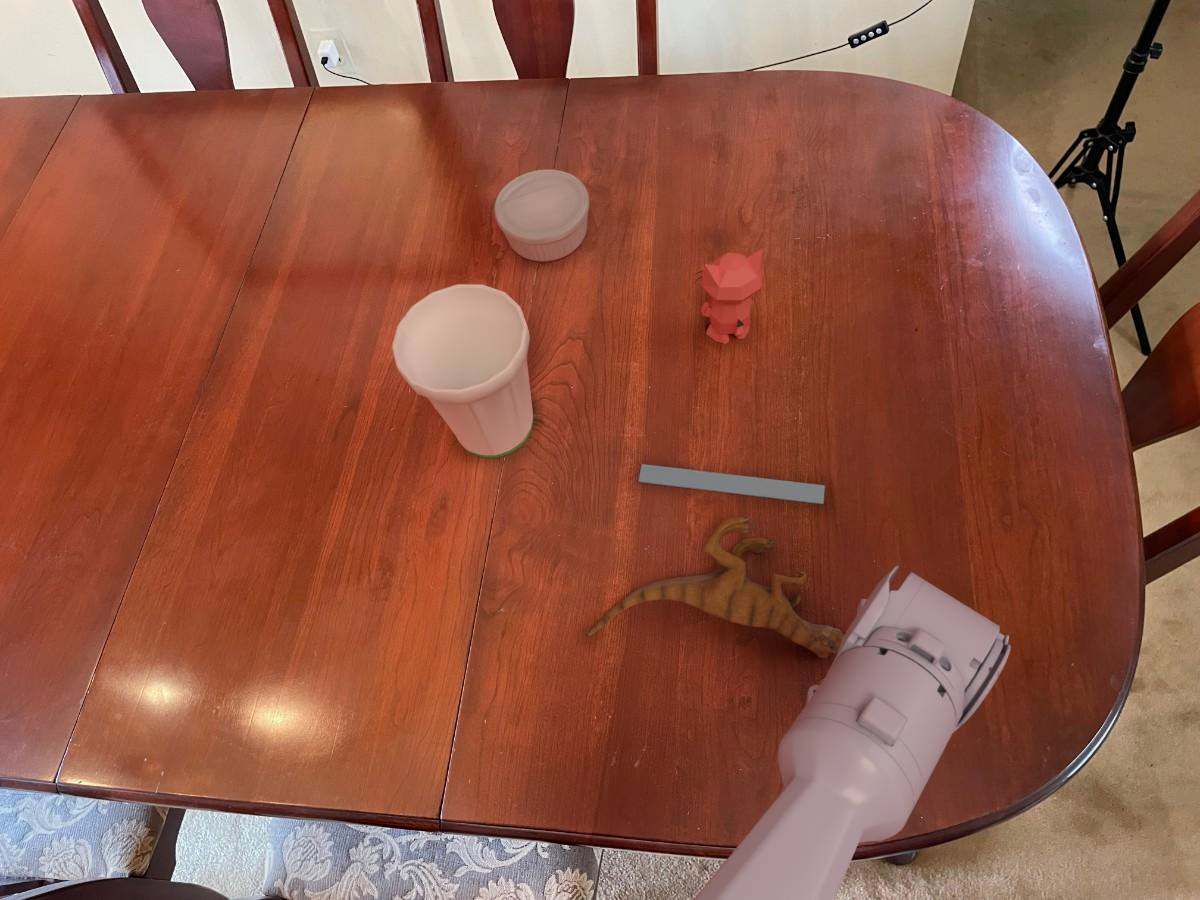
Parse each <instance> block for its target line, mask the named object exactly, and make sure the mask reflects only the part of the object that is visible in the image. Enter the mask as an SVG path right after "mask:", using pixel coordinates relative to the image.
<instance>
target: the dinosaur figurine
mask: <svg viewBox="0 0 1200 900" xmlns="http://www.w3.org/2000/svg"><path fill="white" fill-rule="evenodd" d="M750 519H751V517H750V516H737V517H731V518H726V519H723V520H722V521H721V522H720V523H718V524H717V525H716V527H715V528H714V529H713V531H712V533H711V534H710V536H709V537H708V539H707V540H706V541H705V542H704V544H703V548H702V549H703V552H704V553H705V554H706V555H708V557H711V558H712V559H713V560H715V562H716V563H717V564H718V565H719V566H721V568H723V569H724V570H723V569H716V570H713V571H711V572H709V573H706V574H695V575H687V576H677V577H672V578H666V579H661V580H657V581H654V582H651V583H648V584H647V585H645V586H642V587H639V588H638V589H636V590H634V591H632V592H631V593H630V594H629V595H626V597H625V598H622V600H620V601H619V602H617V603H616V604H615V605H614V606H613V607H612V608H611V609H610V610H608V611H607V612H606V614H605V615H603V616H602V618H601V619H600V620H598V621H597V623H596V624H595V625H594V626H593V627H592V628H591V629H590V631H589V632H587V634H586V636H587V637H590V636H592V635H594V634H595V633H596V632H597V631H598V630H600V629H602V628H603V627H604V626H606V625H607V624H608V623H609V622H610V621H611V620H613V618H614V617H616V616H618V615H619V614H620V613H621V612H624V611H625V610H626V609H628V608H630V607H633V606H634V605H638V604H641V603H644V602H650V601H655V600H671V601H676V602H680V603H684V604H687V605H688V606H692V607H694V608H697V609H698V610H700V611H703V612H704V613H706V614H708V615H709V616H712V617H716V618H717V619H721V620H724V621H727V622H730V623H733V624H739V625H741V626H746V627H751V628H768V629H772V630H774V631H776V632H778V633H779V634H781V635H782V636H784V637H785V638H787V639H789V640H790V641H792V642H793V643H795V644H797V645H799V646H801V647H803V648H806V649H808V650H809V651H810V652H812V653H813V654H815V655H816V656H817V657H818V658H823V659H826V658H828V657H829V656H830V655H831V654H836V655H837V653H838V650H839V648H840V645H841V642H842V640H843V637H844V636H845V634H843V633H842V631H841V629H839V628H835V627H833V626H831V625H828V624H823V623H820V624H816V623H811V622H810V621H807V620H805V619H803V618H801V617H800V616H799V615H798V614H797V613H796V612H795V610H794V609H793V608H795V606H797V605H798V604H800V602H801V594H800V592H798V593H796V592H795V593H794V595H793V599H792V601H789V598H788V597H787V596H786V595H784V594H783V592H782V591H783V590H782V585H793V586H797V587H799V586H801V585H803V584H804V583H805V582H806V580H805V579H806V578H807V577H808V574H807V573H806V572H804V571H802V570H800V571H797V573H798V576H795V577H790V576H787V575H782V574H778V573H773V574H772V575H771V579H770V583H771V586H766V585H761V584H760V583H757V582H754V581H752V580H751V579H750V578H749V577H747V576H746V575H747V563H746V561H745V560H744V559H743V558H741V557H742V555H743V554H744V553H746V552H753V553H757V554H763V553H767V551H768V550H770V551H771V550H774V549H775V546H772V545H771V544H773V543H774V540H772V539H766V538H763V537H753V538H751V537H749V538H748V537H746V538H742V539H741V540H740V541H738V542H737V543H734V545H733V547H732V548H731V551H730V552H728V551H726V550H724V549H723V548H722V547H721V544H720V541H721V539H723V536H726V535H728V534H731V533H732V534H733V533H737V534H752V533H754V530H753V529H754V528H756V525H755V524H749V523H747V521H749V520H750ZM769 544H770V545H769Z"/></svg>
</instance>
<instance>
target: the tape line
mask: <svg viewBox="0 0 1200 900" xmlns="http://www.w3.org/2000/svg"><path fill="white" fill-rule="evenodd" d="M637 481H638V483H643V484H651V485H658V486H667V487H674V488H675V487H676V488H682V489H691V490H692V489H693V490H698V491H699V490H700V491H707V492H714V493H715V492H716V493H724V494H725V493H726V494H734V495H740V496H749V497H758V498H766V499H772V500H783V501H791V502H798V503H806V504H815V505H824V504H825V489H826V485H824V484H816V483H808V482H807V483H806V482H799V481H791V480H782V479H781V480H780V479H773V478H765V477H756V476H747V475H739V474H730V473H722V472H713V471H705V470H698V469H697V470H696V469H688V468H678V467H671V466H662V465H653V464H646V463H641V466H640V471H639V476H638V480H637Z"/></svg>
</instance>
